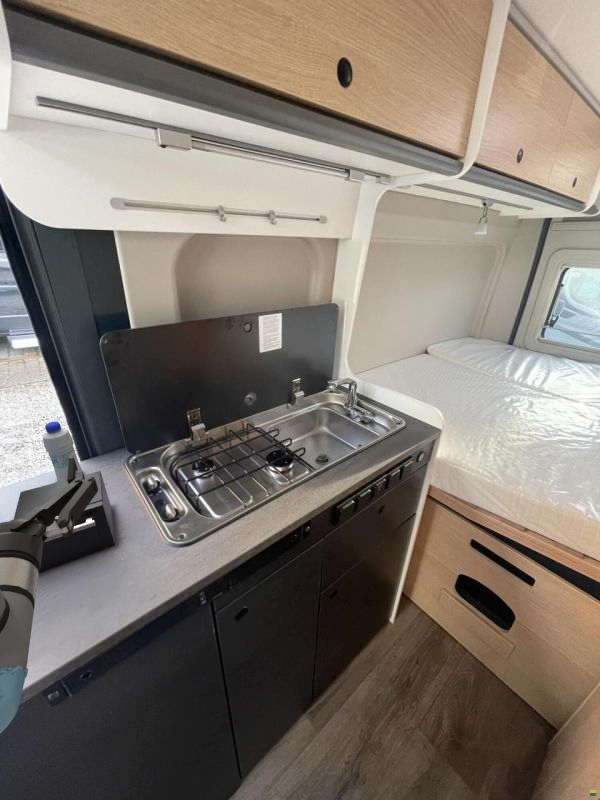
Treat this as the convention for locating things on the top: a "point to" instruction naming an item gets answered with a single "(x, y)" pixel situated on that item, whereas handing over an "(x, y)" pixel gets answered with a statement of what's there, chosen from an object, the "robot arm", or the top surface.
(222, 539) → the top surface
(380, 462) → the top surface
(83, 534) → the oven door
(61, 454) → the bottle
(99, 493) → the oven
